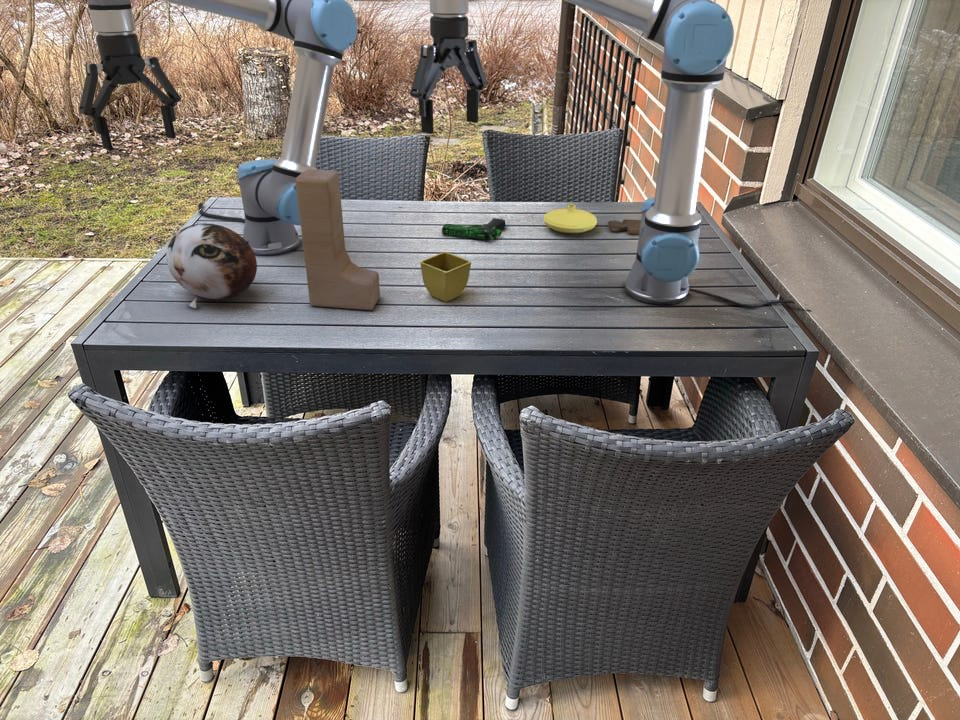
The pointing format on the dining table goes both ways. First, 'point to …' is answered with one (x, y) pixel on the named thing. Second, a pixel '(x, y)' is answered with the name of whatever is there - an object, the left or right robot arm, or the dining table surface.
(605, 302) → the dining table surface
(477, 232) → the handgun
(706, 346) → the dining table surface
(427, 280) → the square tapered planter
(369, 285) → the decorative block
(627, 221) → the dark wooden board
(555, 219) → the yellow knobbed lid
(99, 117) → the left robot arm
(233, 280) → the cat face balloon
